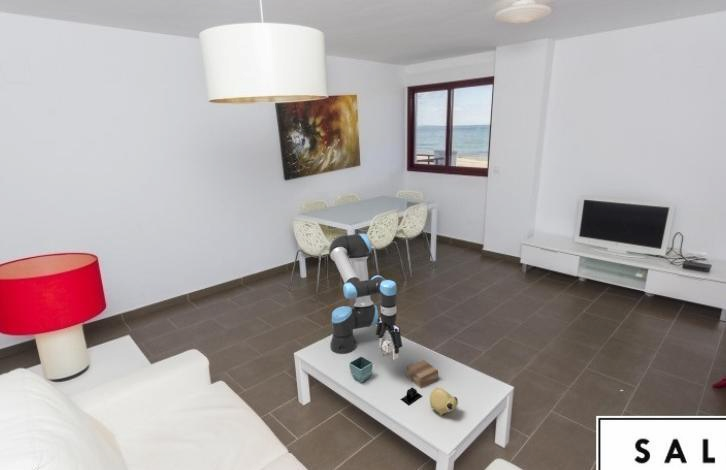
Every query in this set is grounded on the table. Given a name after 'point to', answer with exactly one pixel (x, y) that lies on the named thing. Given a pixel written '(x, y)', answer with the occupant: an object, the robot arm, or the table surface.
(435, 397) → the toy pig
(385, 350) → the game die
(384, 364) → the table surface
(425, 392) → the table surface
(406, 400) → the black angular block
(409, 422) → the table surface
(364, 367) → the flower pot
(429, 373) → the walnut block
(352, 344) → the robot arm
